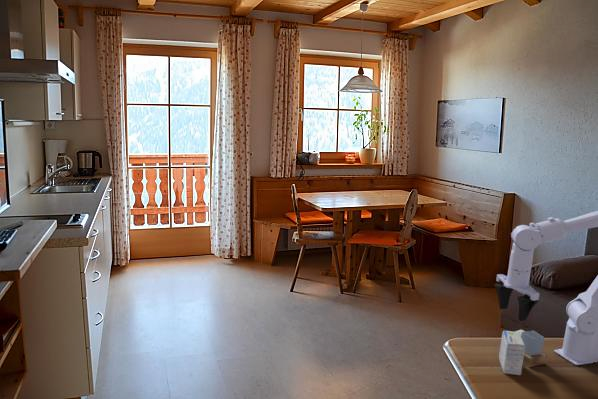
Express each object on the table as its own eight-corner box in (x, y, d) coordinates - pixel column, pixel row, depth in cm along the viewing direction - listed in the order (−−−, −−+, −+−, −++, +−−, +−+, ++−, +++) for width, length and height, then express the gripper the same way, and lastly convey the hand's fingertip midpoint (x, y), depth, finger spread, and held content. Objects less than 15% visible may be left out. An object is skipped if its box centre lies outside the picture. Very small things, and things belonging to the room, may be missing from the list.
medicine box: (520, 376, 136) (526, 345, 134) (502, 373, 137) (507, 343, 135) (515, 361, 144) (519, 332, 142) (497, 358, 144) (502, 329, 143)
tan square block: (526, 354, 149) (528, 344, 148) (544, 365, 143) (545, 355, 143) (510, 357, 146) (512, 347, 146) (528, 368, 141) (529, 358, 140)
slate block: (530, 347, 147) (533, 330, 146) (541, 354, 143) (544, 337, 142) (519, 348, 145) (521, 332, 144) (529, 355, 142) (532, 338, 141)
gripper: (490, 260, 151) (484, 304, 154) (527, 279, 138) (519, 327, 141) (510, 259, 153) (503, 302, 156) (548, 277, 140) (540, 324, 143)
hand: (512, 314), depth 149 cm, fingers open, 7 cm apart
